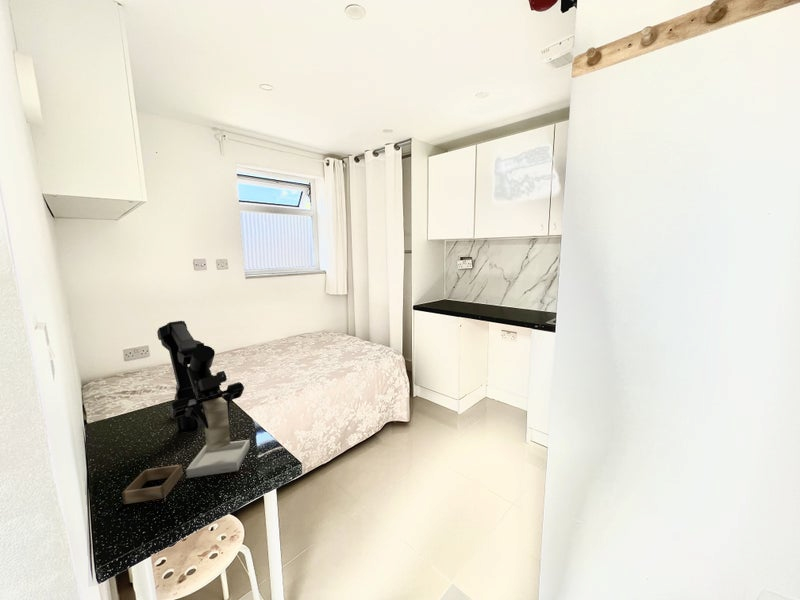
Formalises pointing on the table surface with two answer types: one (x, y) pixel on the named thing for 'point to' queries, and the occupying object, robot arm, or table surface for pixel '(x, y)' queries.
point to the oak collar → (152, 493)
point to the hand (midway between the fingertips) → (218, 424)
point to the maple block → (216, 423)
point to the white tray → (219, 459)
